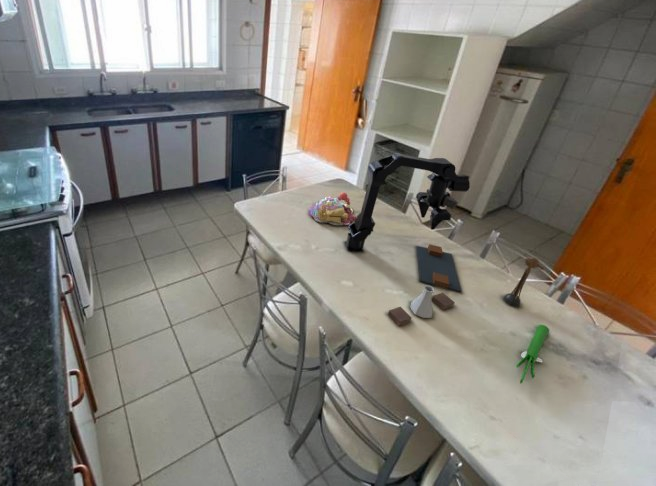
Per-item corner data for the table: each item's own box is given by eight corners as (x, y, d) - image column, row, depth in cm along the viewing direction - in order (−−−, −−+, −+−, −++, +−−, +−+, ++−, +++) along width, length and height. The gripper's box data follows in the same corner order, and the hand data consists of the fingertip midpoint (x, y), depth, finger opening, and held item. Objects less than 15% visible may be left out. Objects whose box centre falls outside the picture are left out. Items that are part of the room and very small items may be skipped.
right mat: (419, 282, 126) (421, 277, 124) (416, 246, 147) (417, 241, 145) (460, 293, 121) (463, 287, 120) (450, 254, 142) (453, 249, 141)
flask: (435, 320, 109) (444, 298, 105) (412, 316, 110) (420, 294, 106) (429, 304, 116) (437, 283, 111) (407, 300, 117) (415, 279, 112)
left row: (387, 314, 111) (389, 310, 110) (441, 296, 120) (442, 292, 119) (398, 326, 107) (400, 321, 106) (453, 306, 115) (454, 302, 115)
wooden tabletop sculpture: (525, 306, 117) (550, 262, 108) (518, 310, 115) (543, 266, 106) (507, 295, 122) (529, 251, 113) (500, 299, 120) (523, 255, 111)
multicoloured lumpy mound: (360, 228, 158) (364, 211, 154) (311, 225, 158) (314, 209, 154) (348, 203, 180) (351, 188, 176) (305, 200, 180) (307, 185, 176)
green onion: (533, 328, 109) (508, 380, 91) (538, 321, 108) (513, 372, 89) (551, 338, 106) (529, 394, 88) (556, 331, 105) (535, 386, 86)
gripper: (471, 202, 122) (458, 236, 129) (446, 180, 139) (436, 212, 146) (440, 201, 122) (429, 235, 129) (420, 179, 139) (411, 211, 146)
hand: (427, 223), depth 137 cm, fingers open, 9 cm apart
